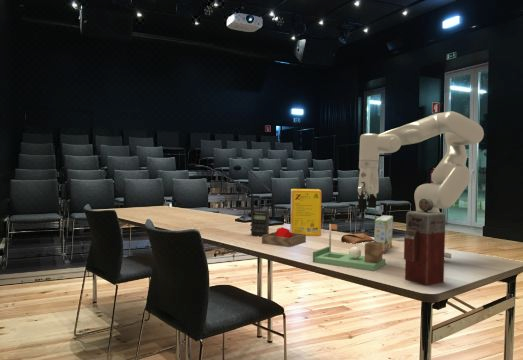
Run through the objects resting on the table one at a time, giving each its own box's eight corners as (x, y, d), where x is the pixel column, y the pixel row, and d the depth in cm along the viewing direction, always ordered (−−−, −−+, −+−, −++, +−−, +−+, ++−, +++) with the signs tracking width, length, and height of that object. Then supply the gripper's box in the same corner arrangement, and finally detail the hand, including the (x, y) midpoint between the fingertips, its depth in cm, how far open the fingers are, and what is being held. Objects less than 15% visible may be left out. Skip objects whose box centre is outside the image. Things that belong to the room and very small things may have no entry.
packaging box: (290, 231, 251) (290, 188, 250) (318, 231, 250) (318, 189, 249) (291, 235, 235) (291, 190, 234) (320, 236, 234) (321, 190, 233)
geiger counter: (248, 236, 232) (249, 208, 231) (251, 234, 236) (251, 207, 235) (267, 237, 228) (267, 209, 228) (269, 236, 233) (269, 208, 232)
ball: (362, 258, 169) (363, 246, 169) (358, 260, 165) (358, 248, 165) (351, 256, 172) (351, 245, 172) (346, 259, 168) (347, 246, 168)
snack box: (386, 254, 188) (386, 220, 187) (373, 253, 190) (373, 219, 190) (392, 246, 207) (393, 215, 206) (380, 245, 209) (381, 214, 209)
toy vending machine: (399, 280, 145) (401, 198, 144) (421, 276, 151) (423, 197, 150) (421, 286, 137) (423, 200, 136) (444, 282, 143) (446, 198, 142)
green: (385, 263, 169) (386, 228, 168) (373, 270, 157) (374, 233, 157) (327, 255, 183) (328, 223, 182) (312, 261, 171) (313, 227, 170)
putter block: (382, 260, 165) (382, 242, 165) (377, 263, 160) (377, 245, 160) (369, 259, 168) (370, 241, 168) (364, 261, 163) (364, 243, 163)
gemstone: (288, 243, 204) (295, 232, 212) (272, 234, 205) (280, 223, 213) (282, 255, 209) (289, 244, 217) (267, 246, 210) (274, 235, 218)
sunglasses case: (353, 244, 210) (348, 231, 213) (344, 249, 215) (339, 237, 218) (376, 240, 221) (371, 228, 224) (367, 245, 226) (362, 234, 229)
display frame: (305, 242, 215) (305, 234, 215) (290, 246, 202) (290, 238, 202) (278, 238, 224) (278, 231, 224) (261, 243, 211) (262, 235, 211)
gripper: (369, 164, 159) (367, 210, 159) (385, 165, 173) (384, 208, 173) (350, 164, 163) (349, 209, 163) (368, 165, 177) (366, 206, 177)
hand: (367, 208), depth 168 cm, fingers open, 9 cm apart
